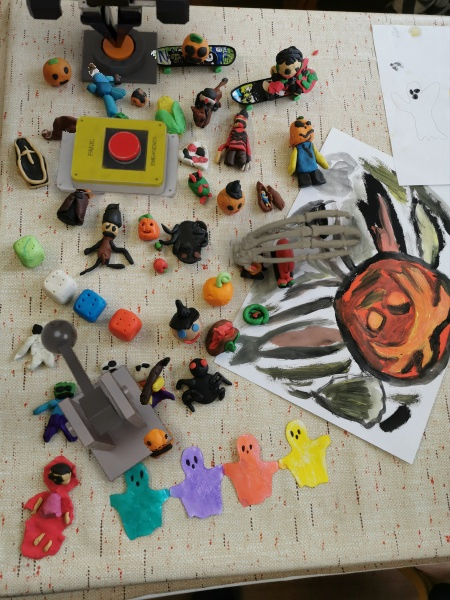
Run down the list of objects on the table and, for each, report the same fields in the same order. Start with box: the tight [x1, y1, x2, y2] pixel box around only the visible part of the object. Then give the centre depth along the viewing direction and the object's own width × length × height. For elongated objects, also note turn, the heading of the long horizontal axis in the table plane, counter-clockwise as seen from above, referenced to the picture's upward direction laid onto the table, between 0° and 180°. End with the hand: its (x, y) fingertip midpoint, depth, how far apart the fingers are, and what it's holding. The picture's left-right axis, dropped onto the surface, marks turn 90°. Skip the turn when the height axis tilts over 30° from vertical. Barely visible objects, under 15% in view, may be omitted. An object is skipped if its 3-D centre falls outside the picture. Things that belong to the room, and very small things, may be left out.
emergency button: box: [55, 115, 180, 198], centre depth 70 cm, size 9×4×15 cm
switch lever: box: [40, 318, 122, 435], centre depth 53 cm, size 15×4×4 cm
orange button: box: [103, 35, 134, 60], centre depth 75 cm, size 4×4×2 cm
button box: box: [80, 23, 158, 85], centre depth 75 cm, size 10×8×2 cm
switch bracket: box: [57, 364, 173, 483], centre depth 55 cm, size 10×8×17 cm
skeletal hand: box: [232, 208, 362, 273], centre depth 68 cm, size 6×17×6 cm, turn 103°
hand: (118, 44), depth 74 cm, fingers closed, pressing on orange button
